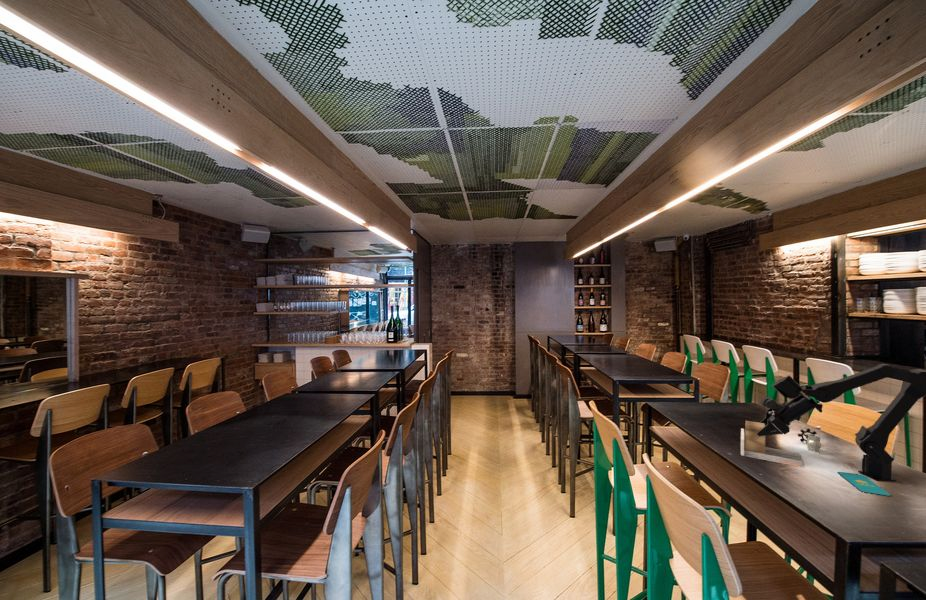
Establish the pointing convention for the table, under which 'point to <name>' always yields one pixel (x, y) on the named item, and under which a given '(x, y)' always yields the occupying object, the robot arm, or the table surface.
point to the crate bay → (779, 458)
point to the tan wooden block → (754, 437)
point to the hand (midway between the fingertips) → (757, 431)
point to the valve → (811, 440)
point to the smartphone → (863, 484)
